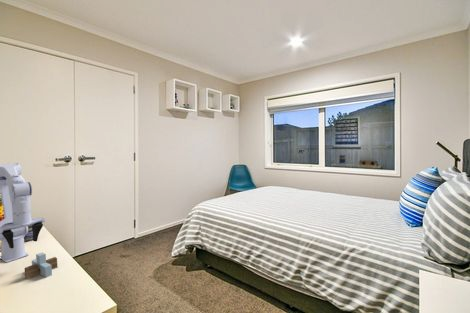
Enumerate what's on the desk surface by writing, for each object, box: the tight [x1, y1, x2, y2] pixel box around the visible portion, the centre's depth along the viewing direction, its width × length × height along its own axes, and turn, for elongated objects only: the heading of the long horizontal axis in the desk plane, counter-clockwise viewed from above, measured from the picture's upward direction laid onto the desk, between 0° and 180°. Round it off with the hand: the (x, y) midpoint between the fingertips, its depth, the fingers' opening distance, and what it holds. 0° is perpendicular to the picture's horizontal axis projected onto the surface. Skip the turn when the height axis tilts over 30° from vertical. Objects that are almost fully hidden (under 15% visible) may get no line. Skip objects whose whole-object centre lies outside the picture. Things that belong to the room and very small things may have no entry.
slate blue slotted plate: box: [31, 252, 53, 278], centre depth 93 cm, size 12×2×8 cm, turn 61°
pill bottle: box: [24, 225, 33, 243], centre depth 128 cm, size 6×6×11 cm
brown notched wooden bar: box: [24, 256, 58, 280], centre depth 94 cm, size 2×10×4 cm, turn 151°
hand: (23, 244), depth 96 cm, fingers open, 7 cm apart
